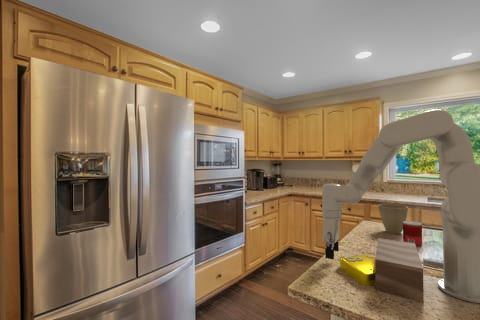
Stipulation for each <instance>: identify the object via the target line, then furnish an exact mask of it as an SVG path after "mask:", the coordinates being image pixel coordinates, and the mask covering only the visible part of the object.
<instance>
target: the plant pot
mask: <svg viewBox="0 0 480 320" xmlns="http://www.w3.org/2000/svg"><path fill="white" fill-rule="evenodd" d="M378 210H379V215H380V216H379V217H380V219H381V221H382V224H383V225H382V226H383V227H384V229H385V231H386V233H388V234H391V235H400V234H402V233H403V221H407V217H408V210H409V206H407V205H404V204H400V203H399V204H398V203H379V204H378Z"/></svg>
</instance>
